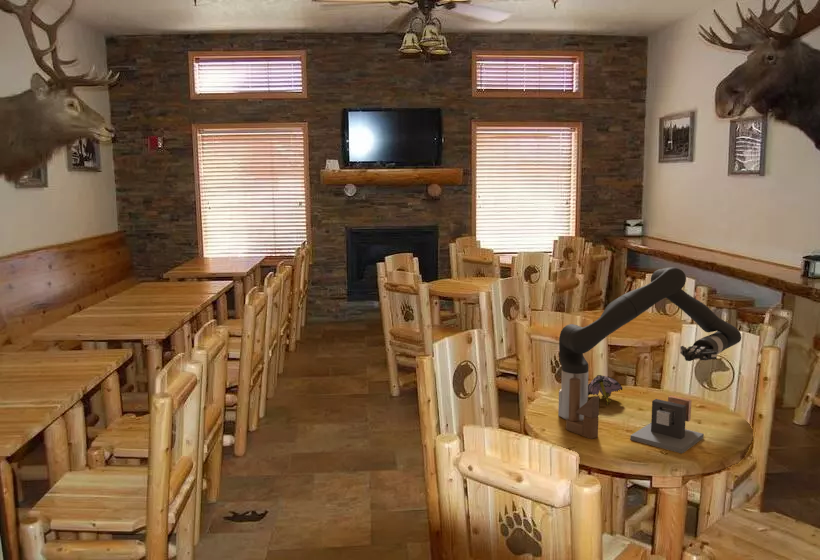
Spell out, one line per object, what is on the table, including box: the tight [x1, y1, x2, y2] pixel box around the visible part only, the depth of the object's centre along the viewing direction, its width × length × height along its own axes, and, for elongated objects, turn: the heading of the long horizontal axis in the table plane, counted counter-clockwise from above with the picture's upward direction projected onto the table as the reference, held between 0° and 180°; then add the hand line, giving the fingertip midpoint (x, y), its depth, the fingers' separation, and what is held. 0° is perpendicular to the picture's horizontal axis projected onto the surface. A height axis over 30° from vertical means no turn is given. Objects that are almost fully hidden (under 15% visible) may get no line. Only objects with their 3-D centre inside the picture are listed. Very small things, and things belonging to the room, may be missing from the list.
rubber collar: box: [650, 398, 687, 439], centre depth 221 cm, size 10×3×10 cm, turn 46°
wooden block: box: [565, 378, 600, 440], centre depth 226 cm, size 4×11×18 cm, turn 37°
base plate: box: [629, 422, 705, 454], centre depth 222 cm, size 17×17×2 cm
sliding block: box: [656, 395, 693, 426], centre depth 223 cm, size 7×14×7 cm, turn 136°
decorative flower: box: [588, 374, 623, 406], centre depth 259 cm, size 14×12×15 cm
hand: (687, 358), depth 228 cm, fingers closed
